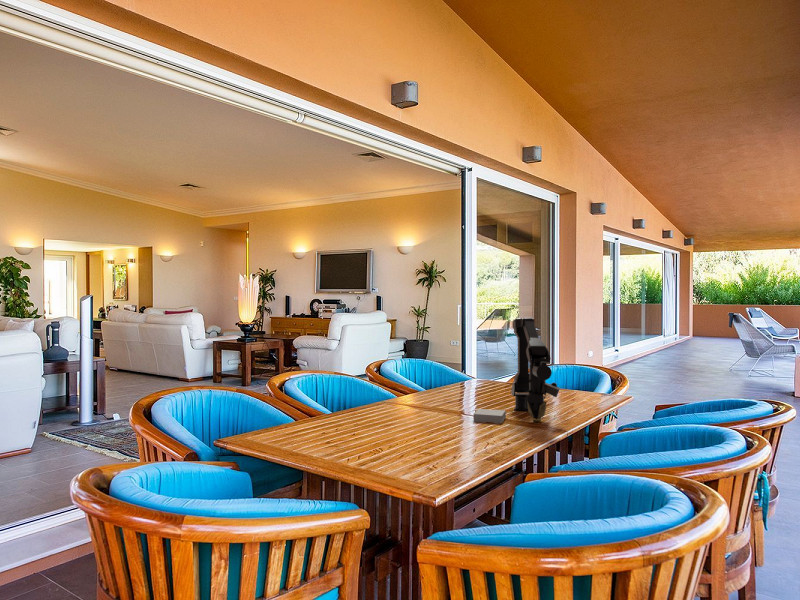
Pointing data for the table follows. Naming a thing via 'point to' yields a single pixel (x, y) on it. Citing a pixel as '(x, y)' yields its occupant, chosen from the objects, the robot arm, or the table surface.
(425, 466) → the table surface
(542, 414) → the ornate bronze lamp shade
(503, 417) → the plinth
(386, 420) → the table surface
